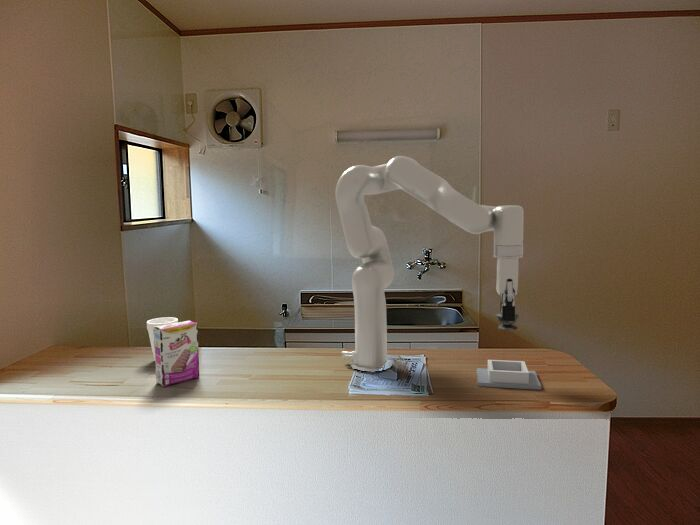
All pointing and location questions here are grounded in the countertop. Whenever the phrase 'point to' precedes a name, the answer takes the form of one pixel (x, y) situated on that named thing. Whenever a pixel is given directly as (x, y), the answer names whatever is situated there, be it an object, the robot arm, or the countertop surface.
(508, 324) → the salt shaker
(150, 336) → the foam cup
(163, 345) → the candy bar box
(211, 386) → the countertop surface
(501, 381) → the holder
